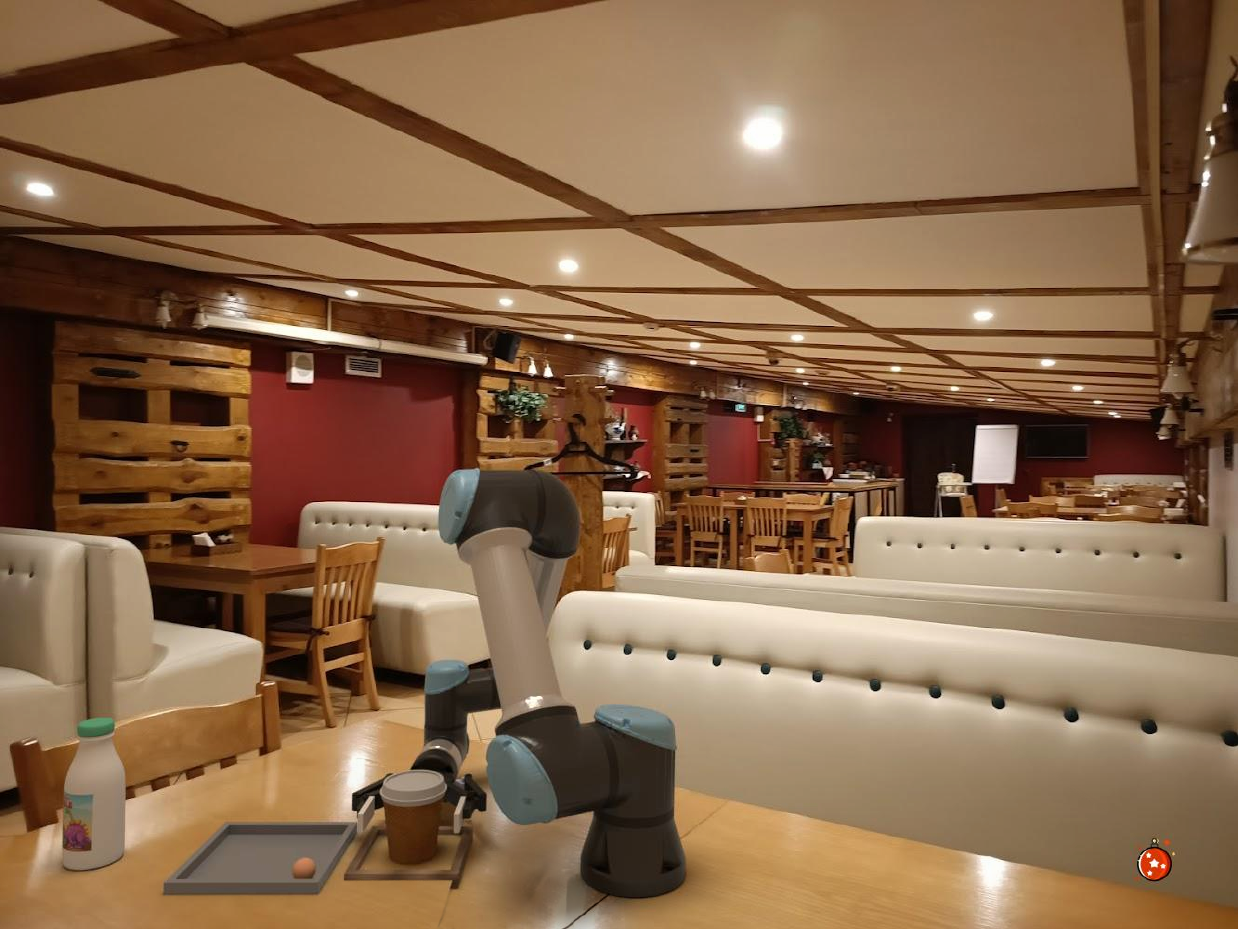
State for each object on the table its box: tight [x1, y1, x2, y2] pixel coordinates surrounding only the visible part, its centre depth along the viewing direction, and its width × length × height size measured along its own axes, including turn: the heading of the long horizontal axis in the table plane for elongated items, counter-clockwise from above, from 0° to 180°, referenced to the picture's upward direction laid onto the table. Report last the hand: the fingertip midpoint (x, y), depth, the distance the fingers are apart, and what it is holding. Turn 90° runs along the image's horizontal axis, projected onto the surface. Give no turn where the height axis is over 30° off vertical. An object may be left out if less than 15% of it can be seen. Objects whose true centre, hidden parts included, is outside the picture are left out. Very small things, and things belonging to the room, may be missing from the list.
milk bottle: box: [61, 717, 127, 871], centre depth 123 cm, size 8×8×20 cm
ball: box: [292, 858, 316, 879], centre depth 116 cm, size 3×3×3 cm
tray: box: [163, 821, 358, 896], centre depth 121 cm, size 20×19×3 cm
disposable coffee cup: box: [380, 769, 447, 866], centre depth 124 cm, size 10×10×12 cm
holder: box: [343, 825, 474, 890], centre depth 124 cm, size 15×15×2 cm
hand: (408, 823), depth 121 cm, fingers open, 13 cm apart
